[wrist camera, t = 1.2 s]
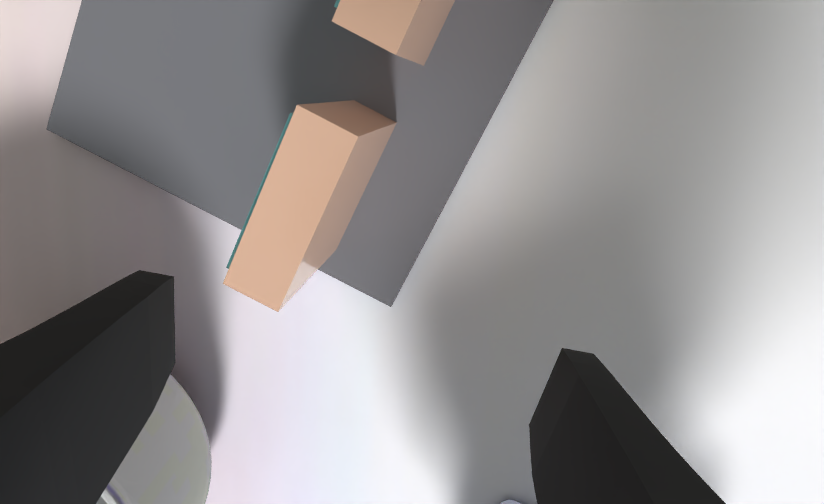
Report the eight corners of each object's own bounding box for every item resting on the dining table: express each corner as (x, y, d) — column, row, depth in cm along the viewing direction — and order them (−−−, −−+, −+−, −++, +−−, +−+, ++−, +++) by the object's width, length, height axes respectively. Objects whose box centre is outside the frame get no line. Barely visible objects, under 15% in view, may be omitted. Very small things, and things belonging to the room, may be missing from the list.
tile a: (396, 122, 19) (358, 136, 13) (336, 249, 20) (278, 311, 15) (349, 98, 19) (290, 101, 13) (292, 227, 20) (217, 281, 15)
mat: (596, -82, 17) (598, -86, 17) (392, 302, 21) (390, 306, 21) (176, -305, 17) (168, -314, 16) (54, 128, 21) (46, 129, 21)
